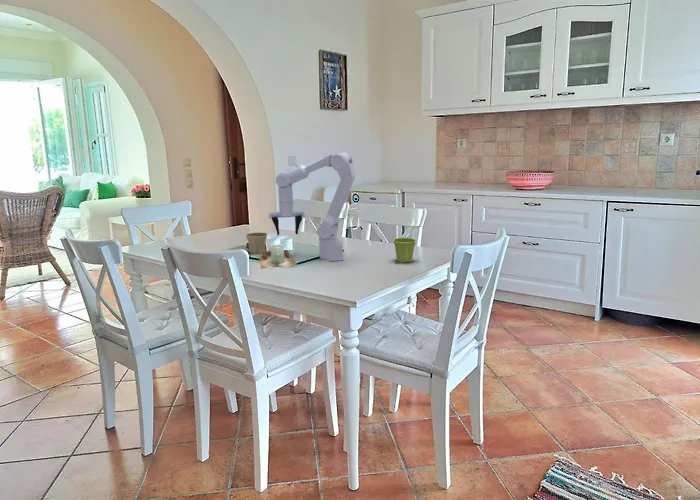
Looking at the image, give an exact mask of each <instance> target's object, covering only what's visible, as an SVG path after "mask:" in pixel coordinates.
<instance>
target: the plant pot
mask: <svg viewBox="0 0 700 500" xmlns="http://www.w3.org/2000/svg"><path fill="white" fill-rule="evenodd" d="M392 242H393V244H394V249H395V256H396V261H397V262H398V263H404V264H405V263H411V262H412V261H413V255H414V251H415V250H414V249H415V246H416V242H417V239H416V238H412V237H397V238H394V239H392Z"/></svg>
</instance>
